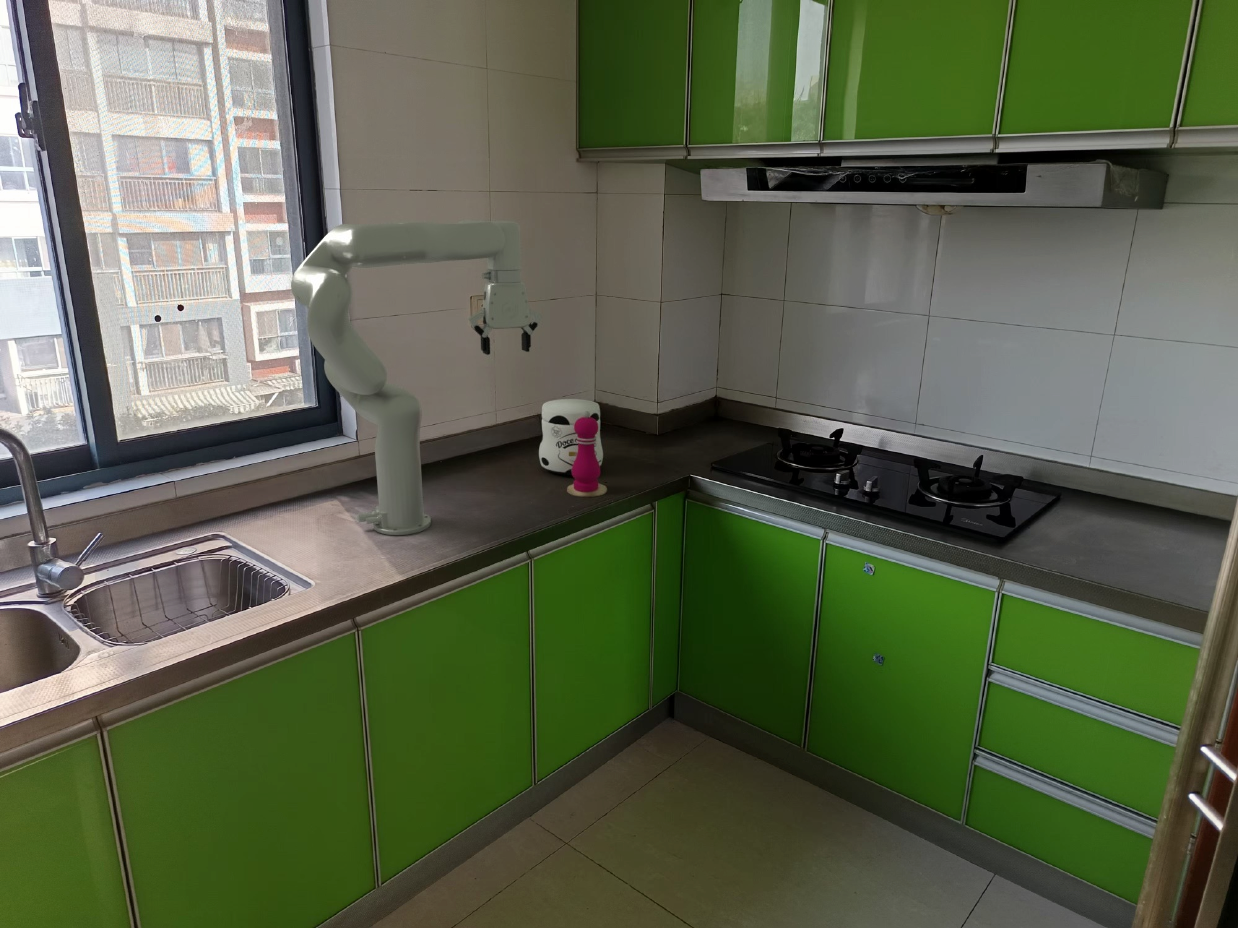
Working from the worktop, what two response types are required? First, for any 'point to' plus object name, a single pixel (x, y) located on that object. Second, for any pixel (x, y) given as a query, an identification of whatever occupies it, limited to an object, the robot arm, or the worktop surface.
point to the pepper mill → (586, 455)
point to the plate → (598, 492)
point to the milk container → (565, 433)
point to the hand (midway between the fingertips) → (506, 352)
